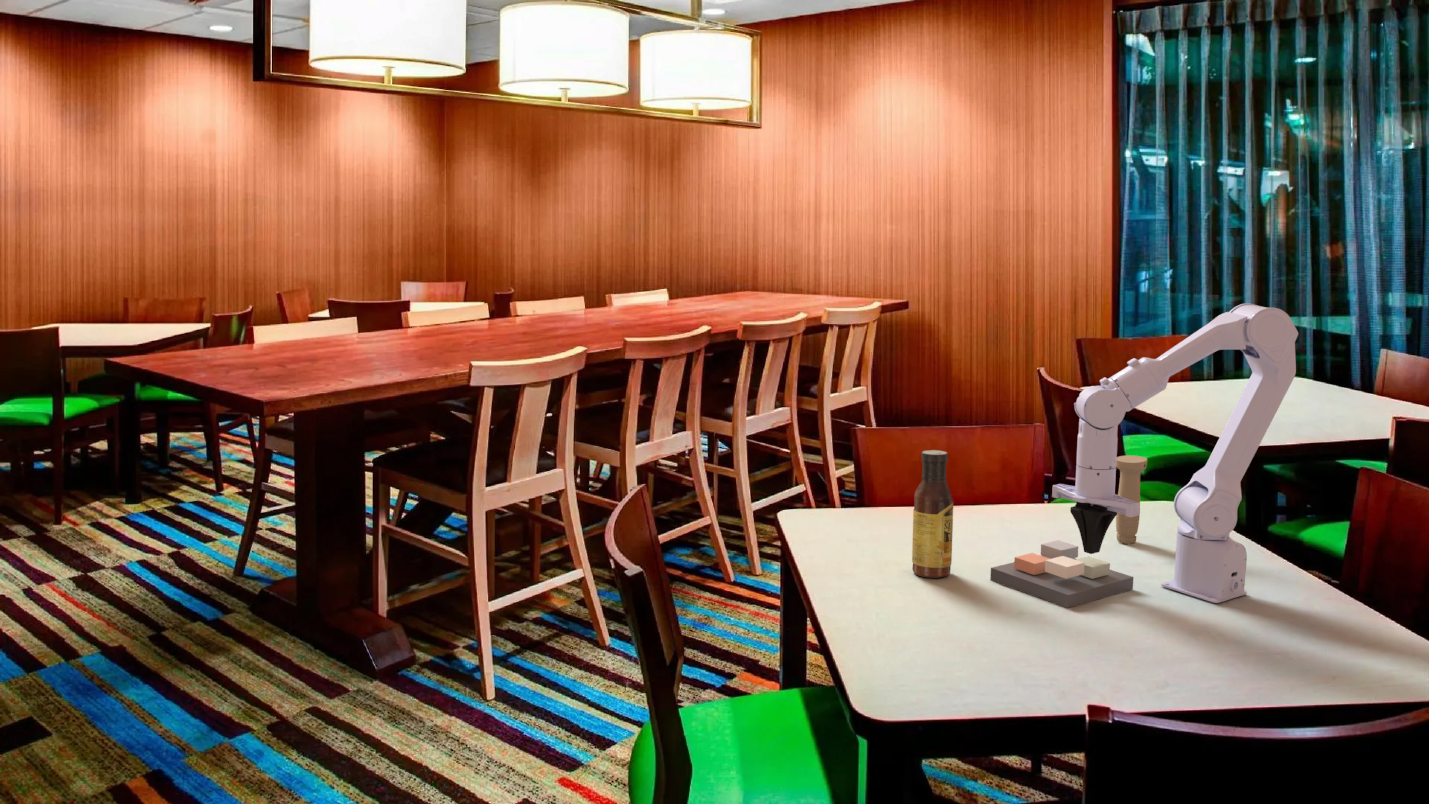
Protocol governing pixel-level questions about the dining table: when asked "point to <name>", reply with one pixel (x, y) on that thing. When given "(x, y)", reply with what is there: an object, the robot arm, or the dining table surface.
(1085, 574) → the key sage
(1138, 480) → the handle
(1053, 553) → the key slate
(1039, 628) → the dining table surface
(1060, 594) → the keypad base
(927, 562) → the sauce bottle
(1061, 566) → the key cream
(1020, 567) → the key terracotta
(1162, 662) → the dining table surface
